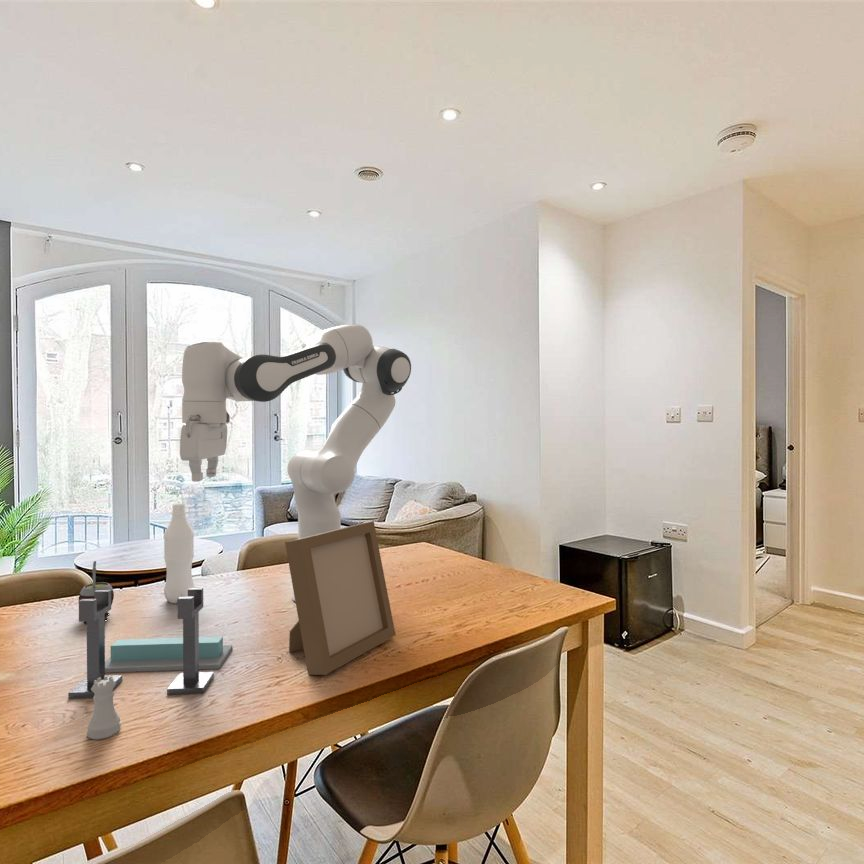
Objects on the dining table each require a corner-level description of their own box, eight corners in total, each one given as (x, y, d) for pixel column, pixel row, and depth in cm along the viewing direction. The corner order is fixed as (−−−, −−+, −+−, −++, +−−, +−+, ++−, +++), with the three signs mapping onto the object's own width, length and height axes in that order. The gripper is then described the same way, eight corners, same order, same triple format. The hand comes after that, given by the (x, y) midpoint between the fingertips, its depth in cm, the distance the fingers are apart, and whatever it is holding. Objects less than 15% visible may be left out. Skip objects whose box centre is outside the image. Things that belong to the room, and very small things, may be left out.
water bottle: (199, 596, 147) (199, 502, 147) (184, 605, 140) (184, 506, 139) (174, 595, 148) (173, 502, 147) (158, 604, 141) (157, 506, 140)
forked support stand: (213, 677, 101) (213, 587, 101) (203, 693, 95) (202, 598, 95) (87, 681, 99) (86, 590, 99) (68, 698, 93) (67, 601, 93)
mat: (232, 648, 113) (232, 645, 113) (219, 668, 104) (219, 664, 104) (120, 652, 112) (120, 648, 111) (97, 672, 103) (97, 668, 103)
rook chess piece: (96, 725, 85) (95, 673, 85) (126, 723, 86) (126, 672, 85) (80, 741, 81) (79, 687, 81) (112, 740, 81) (111, 686, 81)
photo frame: (395, 639, 118) (394, 523, 118) (325, 680, 100) (323, 542, 100) (343, 626, 126) (341, 517, 126) (268, 662, 108) (266, 534, 107)
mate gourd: (99, 612, 135) (98, 551, 134) (123, 616, 132) (123, 554, 132) (69, 623, 127) (69, 558, 127) (95, 627, 125) (94, 561, 125)
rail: (222, 651, 110) (222, 636, 110) (218, 657, 107) (218, 642, 107) (118, 654, 109) (117, 639, 109) (110, 661, 106) (110, 645, 106)
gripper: (203, 415, 110) (204, 484, 110) (231, 415, 130) (232, 474, 131) (171, 414, 110) (171, 484, 110) (204, 415, 130) (204, 474, 130)
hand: (204, 478), depth 120 cm, fingers open, 8 cm apart
